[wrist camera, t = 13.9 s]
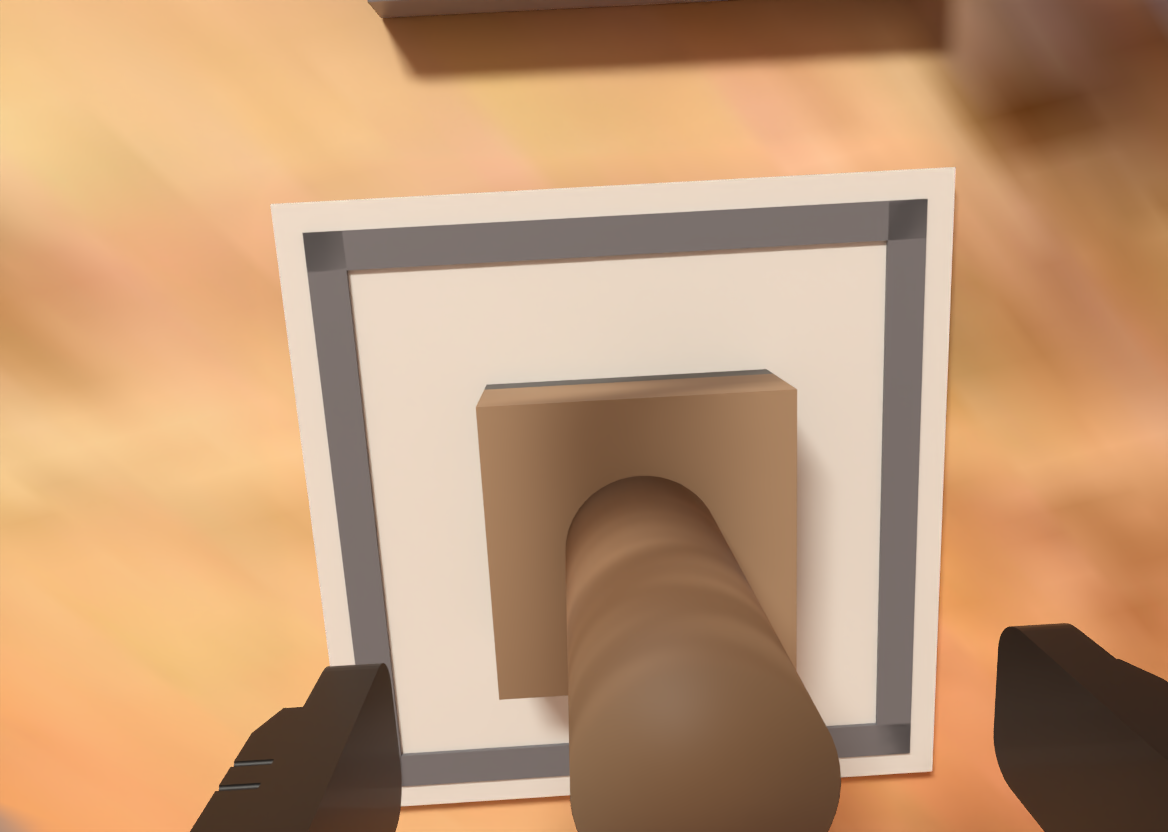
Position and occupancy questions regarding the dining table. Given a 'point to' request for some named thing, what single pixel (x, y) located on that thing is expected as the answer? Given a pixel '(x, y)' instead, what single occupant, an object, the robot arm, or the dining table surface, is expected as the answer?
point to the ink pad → (494, 6)
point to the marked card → (607, 350)
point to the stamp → (658, 595)
